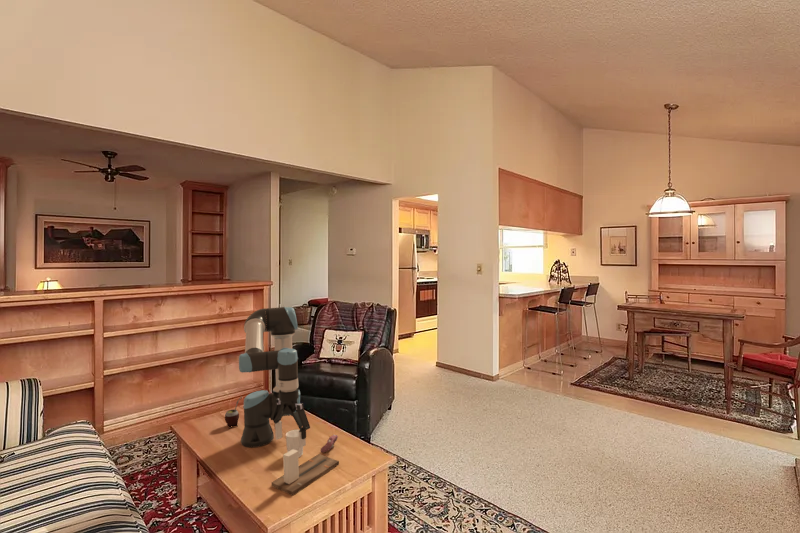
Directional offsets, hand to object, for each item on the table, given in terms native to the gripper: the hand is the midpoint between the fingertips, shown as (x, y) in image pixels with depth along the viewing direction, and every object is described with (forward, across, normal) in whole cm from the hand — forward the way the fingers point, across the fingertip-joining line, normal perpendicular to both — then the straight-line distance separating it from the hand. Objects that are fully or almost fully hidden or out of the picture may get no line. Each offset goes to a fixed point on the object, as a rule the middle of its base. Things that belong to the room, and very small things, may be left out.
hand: (290, 442), depth 159 cm
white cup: (+17, -17, +17) cm, 30 cm away
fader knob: (+15, 0, 0) cm, 15 cm away
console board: (+17, 0, +8) cm, 19 cm away
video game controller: (+17, -8, +30) cm, 35 cm away
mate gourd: (+16, -70, +21) cm, 75 cm away
